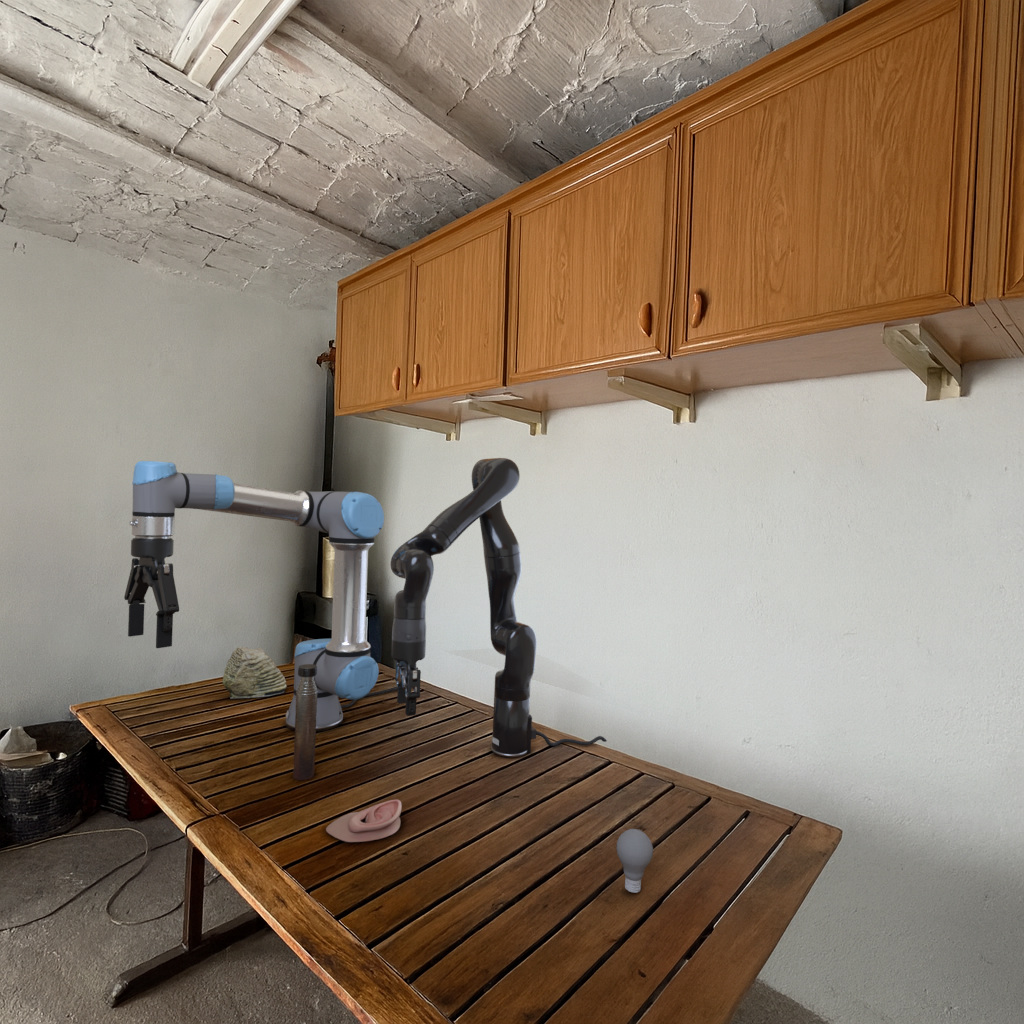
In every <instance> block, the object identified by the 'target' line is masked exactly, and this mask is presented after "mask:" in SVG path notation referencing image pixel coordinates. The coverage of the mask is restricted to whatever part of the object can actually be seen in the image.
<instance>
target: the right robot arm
mask: <svg viewBox="0 0 1024 1024" xmlns="http://www.w3.org/2000/svg"><path fill="white" fill-rule="evenodd" d="M520 477H521V476H520V469H519V466H518V465H517V464H516V462H515V461H513V460H512V459H509V458H506V457H495V458H494V457H492V458H482V459H480V460H478V461H476V463H475V464H474V465H473V467H472V470H471V485H472V491H471V492H469V493H468V494H467V495H465V496H463V498H461V499H459V500H457V501H456V502H455V503H453V504H451V505H449V506H448V507H446V508H445V509H444V510H442V511H441V512H440V513H439V514H438V515H436V517H435V518H434V519H433V520H432V521H431V522H430V523H429V524H428V525H426V527H425V528H424V529H423V530H422V531H421V532H419V533H417V534H416V535H414V536H413V537H411V538H410V539H408V540H406V541H405V542H404V543H403V544H402V545H400V546H399V547H398V548H397V549H396V550H395V551H394V553H393V554H392V556H391V558H390V563H389V564H390V565H389V566H390V570H391V572H392V573H393V574H394V575H395V576H396V577H397V578H400V579H404V580H405V581H404V586H403V589H402V590H399V591H397V592H396V594H395V597H394V607H393V608H394V609H393V620H392V621H393V622H392V628H391V629H392V630H391V654H390V655H391V658H392V659H393V660H395V677H394V680H395V683H396V687H398V686H399V687H398V690H397V695H396V697H397V699H396V701H397V703H398V704H399V705H401V704H405V709H404V710H405V711H404V712H405V713H404V714H405V715H406V717H412V716H416V714H417V700H418V699H419V698H421V673H422V672H421V669H419V667H418V666H417V663H418V662H419V661H422V660H424V659H425V658H426V649H427V648H426V645H427V621H426V620H427V619H426V617H427V615H426V614H427V598H428V595H429V593H430V592H429V591H430V588H431V585H432V581H433V578H434V571H435V566H434V565H435V564H434V560H433V556H436V555H441V554H443V553H445V552H446V551H447V550H448V549H449V548H450V547H451V546H452V545H453V544H454V543H455V542H456V541H457V540H458V539H459V538H460V537H461V535H463V533H464V532H465V531H466V530H468V528H469V527H470V526H471V525H473V524H474V523H475V522H476V521H477V520H478V519H479V526H480V532H481V533H480V534H481V540H482V548H483V558H484V567H485V568H484V569H485V573H486V581H487V590H488V599H489V600H488V601H489V620H490V621H489V624H490V625H489V627H490V633H489V634H490V641H491V645H492V647H493V649H494V650H495V652H497V653H498V654H500V655H502V656H504V658H505V659H504V665H503V667H504V668H503V669H499V670H498V671H496V672H495V674H494V690H493V713H492V714H493V715H492V738H491V752H492V753H493V754H494V755H496V756H498V757H503V758H510V759H511V758H512V759H514V758H520V757H523V756H526V755H527V754H531V753H532V752H531V751H532V740H536V739H537V736H539V737H541V738H542V739H543V740H544V742H545V743H546V744H547V745H548V746H549V747H557V746H558V745H560V744H564V743H567V744H568V743H569V744H570V743H571V744H574V745H580V746H590V745H593V744H595V743H597V742H598V741H602V742H604V743H607V739H606V738H605V737H604V736H602V735H598V736H595V737H594V738H593V739H591V740H589V741H587V740H586V741H584V740H577V739H573V738H562V739H559V740H557V741H555V742H552V741H551V740H550V739H549V737H548V736H547V735H546V734H545V733H544V732H541V731H538V730H537V729H536V728H535V727H533V715H531V713H530V706H531V705H530V704H531V683H532V678H533V676H534V673H535V668H536V656H537V645H538V644H537V642H538V641H537V634H536V632H535V630H534V629H533V627H531V626H530V625H528V624H525V623H524V622H523V623H522V622H520V621H518V619H517V613H516V604H515V602H516V601H515V600H516V599H515V597H516V592H517V589H518V587H519V583H520V581H521V578H522V577H521V576H522V571H523V568H522V567H523V566H522V565H523V564H522V556H521V549H520V544H519V541H518V539H517V536H516V535H515V532H514V531H513V529H512V527H511V526H510V524H509V522H508V520H507V518H506V516H505V513H504V510H503V505H502V504H503V503H502V500H503V499H505V498H506V497H508V495H510V494H512V492H514V490H516V488H517V486H518V484H519V482H520V479H521V478H520ZM412 689H413V692H412Z"/></svg>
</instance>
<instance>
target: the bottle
mask: <svg viewBox="0 0 1024 1024" xmlns="http://www.w3.org/2000/svg"><path fill="white" fill-rule="evenodd" d="M315 684H316V683H315V680H314V676H313V677H301V680H300V683H299V686H298V688H297V692H296V714H295V730H294V740H293V741H294V744H293V767H292V769H293V771H292V774H293V775H292V778H293V780H296V781H306V780H310V779H312V778H314V776H315V766H316V765H315V764H316V763H315V762H316V740H317V739H316V736H317V732H316V714H317V687H316V685H315Z"/></svg>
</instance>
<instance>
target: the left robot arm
mask: <svg viewBox="0 0 1024 1024" xmlns="http://www.w3.org/2000/svg"><path fill="white" fill-rule="evenodd" d="M132 475H133V476H132V515H131V520H130V521H129V525H130V526H131V535H132V536H134V537H132V539H130V555H131V557H133V558H131V566H130V572H129V575H128V580H127V583H126V588H125V592H124V596H123V598H124V601H127V604H128V621H127V622H128V626H127V627H128V628H127V636H128V637H130V638H131V637H137V636H138V637H139V636H144V629H145V604H146V599H145V598H146V594H147V592H148V590H149V587H150V588H151V589H152V591H153V592H152V593H153V596H154V599H155V603H156V606H157V611H156V612H155V616H156V630H155V631H156V633H155V649H162V648H164V649H165V648H170V647H172V646H173V627H174V625H173V623H174V614H176V613H179V611H180V605H179V598H178V594H177V588H176V582H175V578H174V564H173V563H166V561H165V559H166V558H170V557H172V556H173V555H174V543H175V542H174V539H173V538H171V537H173V536H174V535H175V522H176V521H175V518H176V517H175V516H176V515H175V514H176V513H175V511H176V509H191V510H200V511H209V512H217V513H224V514H232V515H239V516H247V517H255V518H262V519H270V520H278V521H286V522H290V524H291V525H292V526H295V527H302V528H307V529H311V530H314V531H318V532H321V533H325V534H328V544H329V545H330V546H331V547H332V548H333V549H334V561H333V562H334V564H333V589H332V590H333V591H332V616H331V617H332V618H331V619H332V620H331V623H332V624H331V638H318V639H308V640H304V641H300V642H299V643H297V645H296V646H295V650H294V655H293V657H294V672H293V673H294V674H293V695H292V696H293V697H292V699H291V702H290V704H289V708H288V710H286V713H285V726H286V728H287V729H289V730H291V731H295V714H296V692H297V688H298V686H299V683H300V680H301V677H300V676H298V669H299V666H300V665H304V664H314V665H317V675H316V676H314V680H315V683H316V684H315V685H316V687H317V714H316V733H317V732H325V731H329V730H332V729H335V728H337V727H339V726H340V725H342V723H343V722H344V714H343V709H347V708H350V707H352V706H353V705H354V704H355V703H356V702H357V701H358V700H360V699H364V698H367V697H373V696H377V695H383V694H386V693H390V692H394V691H398V687H399V686H394V687H390V688H386V689H383V690H378V691H373V692H371V690H372V689H374V687H375V685H376V683H377V681H378V678H379V674H380V673H379V671H380V670H379V669H380V668H379V665H378V663H377V662H376V660H375V659H374V658H373V657H371V648H372V646H371V644H370V642H368V640H366V623H367V622H366V621H367V619H366V618H367V595H368V594H367V593H368V569H369V567H368V566H369V550H370V548H371V547H372V546H374V545H375V537H376V536H377V535H378V534H379V533H380V530H382V529H383V527H384V524H385V523H384V522H385V515H384V509H383V507H382V505H381V503H380V501H378V500H377V498H376V497H375V496H373V495H371V494H370V493H366V492H361V491H337V490H336V491H335V490H330V491H307V490H301V489H299V490H296V491H295V492H291V491H284V490H278V489H273V488H266V487H260V486H253V485H248V484H242V483H236V482H234V481H233V479H232V478H231V477H229V476H228V475H223V474H217V473H215V474H209V473H189V472H188V473H184V472H178V470H177V465H176V464H175V463H174V462H167V461H154V460H140V461H137V462H136V463H135V465H134V468H133V474H132ZM339 698H341V699H342V700H343V699H344V700H348V701H349V700H350V702H349V703H346V704H341V702H340V699H339Z"/></svg>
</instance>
